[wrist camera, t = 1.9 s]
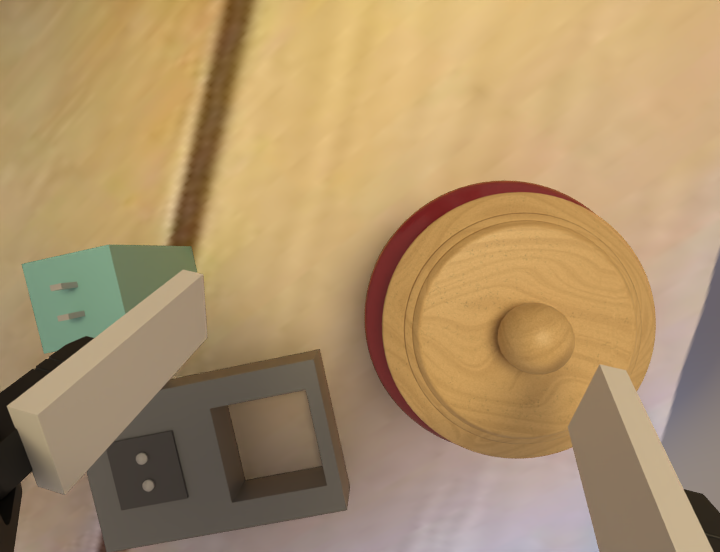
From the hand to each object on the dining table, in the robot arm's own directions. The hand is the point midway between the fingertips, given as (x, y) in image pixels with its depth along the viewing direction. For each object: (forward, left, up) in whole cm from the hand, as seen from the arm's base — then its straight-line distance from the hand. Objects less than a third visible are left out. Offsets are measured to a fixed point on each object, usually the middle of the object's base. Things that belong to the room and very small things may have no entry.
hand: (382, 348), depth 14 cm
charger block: (-16, -5, -18) cm, 25 cm away
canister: (+5, +2, -18) cm, 19 cm away
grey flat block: (-8, -15, -18) cm, 25 cm away
